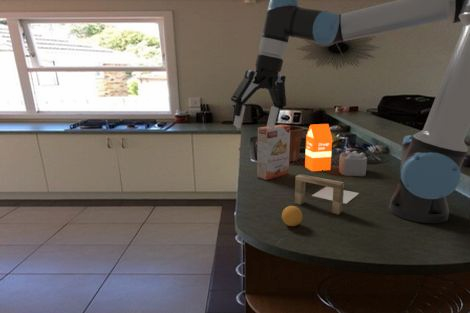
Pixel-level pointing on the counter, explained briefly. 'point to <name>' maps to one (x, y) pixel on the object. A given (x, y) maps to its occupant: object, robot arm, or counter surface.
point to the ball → (292, 216)
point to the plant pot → (295, 142)
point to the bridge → (337, 185)
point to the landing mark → (328, 194)
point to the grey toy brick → (352, 163)
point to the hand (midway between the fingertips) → (254, 126)
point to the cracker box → (273, 151)
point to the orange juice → (318, 147)
